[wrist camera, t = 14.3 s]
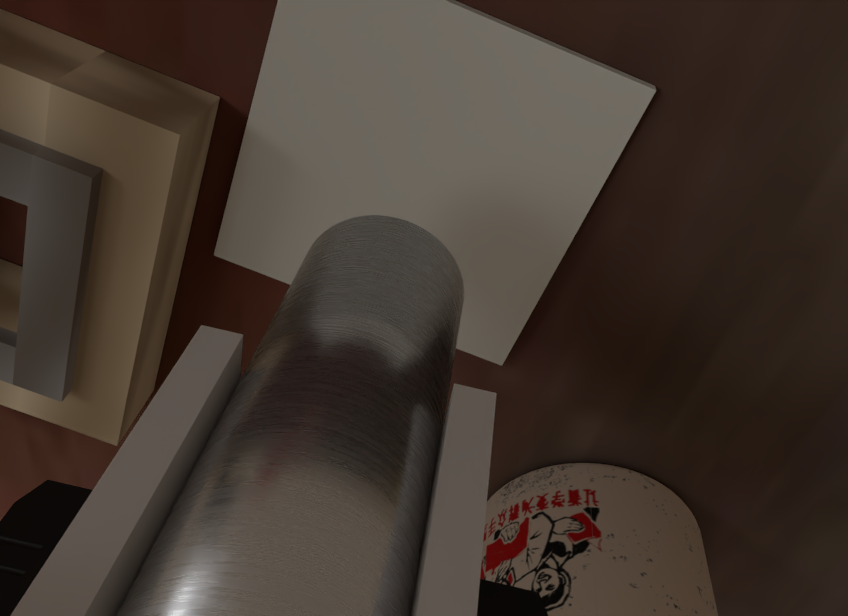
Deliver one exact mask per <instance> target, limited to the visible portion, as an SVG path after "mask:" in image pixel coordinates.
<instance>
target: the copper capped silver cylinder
mask: <svg viewBox="0 0 848 616" xmlns="http://www.w3.org/2000/svg"><path fill="white" fill-rule="evenodd" d="M463 303H464V284H463V279H462V275H461V272H460V269H459V267H458V265H457V263H456V261H455V259H454V258H453V256H452V254H451V253H450V252H449V250H448V249H447V248H446V247H445V246H444V244H443V243H441V242H440V241H439V240H438V239H437V238H436V237H435V236H433V235H432V234H431V233H429V232H428V231H427V230H425V229H423V228H421V227H420V226H418V225H416V224H413V223H411V222H409V221H406V220H403V219H399V218H396V217H390V216H382V215H367V216H359V217H354V218H350V219H347V220H344V221H341V222H339V223H337V224H335V225H333V226H332V227H330V228H329V229H327V230H326V231H324V232H323V233H322V234H321V235H320V236H319V237H318V238H317V239H316V240H315V242H314V243H313V244H312V246H311V247H310V249H309V251H308V253H307V255H306V257H305V258H304V260H303V262H302V264H301V266H300V268H299V270H298V272H297V274H296V276H295V277H294V279H293V281H292V283H291V285H290V287H289V289H288V291H287V293H286V294H285V296H284V298H283V300H282V302H281V304H280V306H279V308H278V310H277V311H276V313H275V315H274V317H273V319H272V321H271V323H270V325H269V327H268V329H267V330H266V332H265V334H264V336H263V338H262V340H261V342H260V344H259V346H258V347H257V349H256V351H255V353H254V355H253V357H252V359H251V361H250V363H249V364H248V366H247V368H246V370H245V372H244V374H243V376H242V378H241V380H240V382H239V383H238V385H237V387H236V389H235V391H234V393H233V395H232V397H231V399H230V400H229V402H228V404H227V406H226V408H225V410H224V412H223V414H222V416H221V418H220V419H219V421H218V423H217V425H216V427H215V429H214V431H213V433H212V435H211V436H210V438H209V440H208V442H207V444H206V446H205V448H204V450H203V452H202V453H201V455H200V457H199V459H198V461H197V463H196V465H195V467H194V469H193V471H192V472H191V474H190V476H189V478H188V480H187V482H186V484H185V486H184V488H183V489H182V491H181V493H180V495H179V497H178V499H177V501H176V503H175V505H174V507H173V508H172V510H171V512H170V514H169V516H168V518H167V520H166V522H165V524H164V525H163V527H162V529H161V531H160V533H159V535H158V537H157V539H156V541H155V542H154V544H153V546H152V548H151V550H150V552H149V554H148V556H147V558H146V560H145V561H144V563H143V565H142V567H141V569H140V571H139V573H138V575H137V577H136V578H135V580H134V582H133V584H132V586H131V588H130V590H129V592H128V594H127V596H126V597H125V599H124V601H123V603H122V605H121V607H120V609H119V611H118V613H117V614H116V616H410V613H411V608H412V602H413V596H414V590H415V584H416V578H417V572H418V566H419V560H420V555H421V549H422V543H423V537H424V531H425V525H426V519H427V513H428V507H429V501H430V496H431V490H432V484H433V478H434V472H435V466H436V460H437V454H438V448H439V442H440V437H441V431H442V427H443V422H444V416H445V410H446V404H447V398H448V392H449V386H450V380H451V374H452V368H453V362H454V356H455V350H456V344H457V338H458V332H459V326H460V320H461V315H462V309H463Z"/></svg>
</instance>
